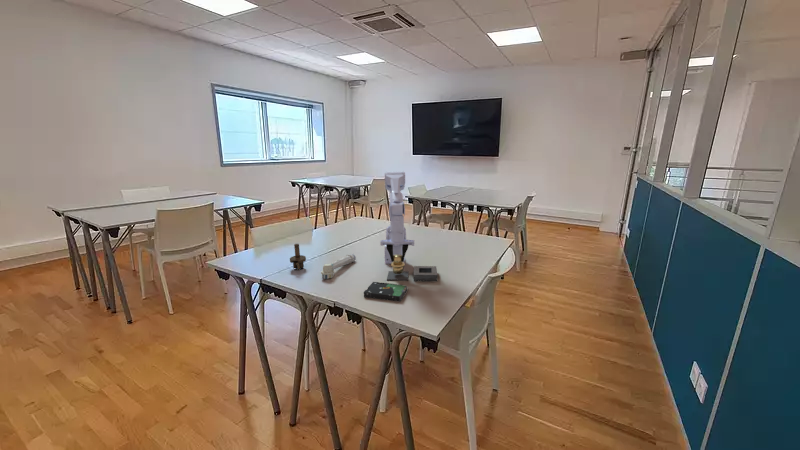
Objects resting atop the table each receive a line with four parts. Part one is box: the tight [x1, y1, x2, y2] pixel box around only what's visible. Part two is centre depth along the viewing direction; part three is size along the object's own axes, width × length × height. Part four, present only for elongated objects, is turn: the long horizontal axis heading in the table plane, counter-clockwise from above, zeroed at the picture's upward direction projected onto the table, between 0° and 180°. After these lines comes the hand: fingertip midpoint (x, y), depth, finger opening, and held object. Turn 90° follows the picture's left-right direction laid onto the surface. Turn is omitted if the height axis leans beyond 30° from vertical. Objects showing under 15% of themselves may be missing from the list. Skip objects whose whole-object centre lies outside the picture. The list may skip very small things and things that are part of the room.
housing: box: [413, 265, 438, 283], centre depth 142 cm, size 10×10×3 cm
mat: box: [386, 270, 409, 282], centre depth 143 cm, size 9×9×1 cm
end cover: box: [390, 254, 406, 274], centre depth 141 cm, size 6×6×8 cm
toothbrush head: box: [320, 253, 357, 280], centre depth 151 cm, size 5×7×25 cm
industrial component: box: [289, 243, 307, 270], centre depth 153 cm, size 9×7×12 cm
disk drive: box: [363, 281, 408, 303], centre depth 126 cm, size 10×3×15 cm
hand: (397, 261), depth 141 cm, fingers closed on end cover, 4 cm apart
